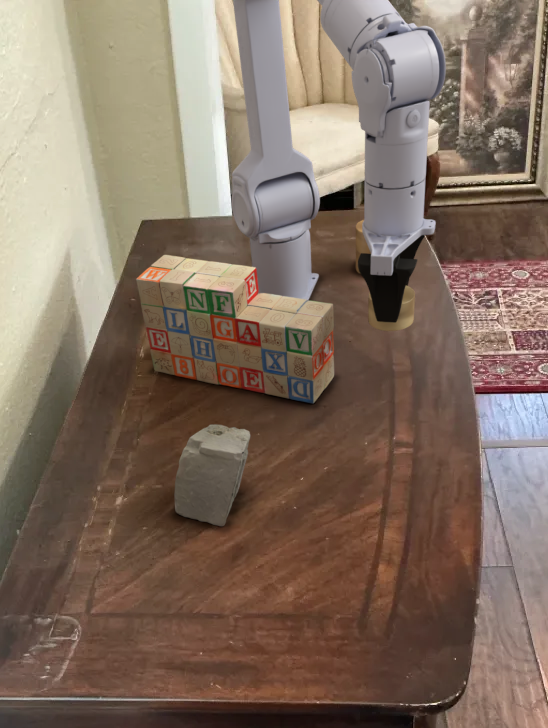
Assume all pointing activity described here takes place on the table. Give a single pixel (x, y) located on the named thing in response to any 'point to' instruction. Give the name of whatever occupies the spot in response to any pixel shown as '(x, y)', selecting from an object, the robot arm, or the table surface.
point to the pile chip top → (361, 239)
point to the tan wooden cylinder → (404, 316)
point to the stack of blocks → (235, 329)
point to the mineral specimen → (211, 473)
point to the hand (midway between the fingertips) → (391, 307)
